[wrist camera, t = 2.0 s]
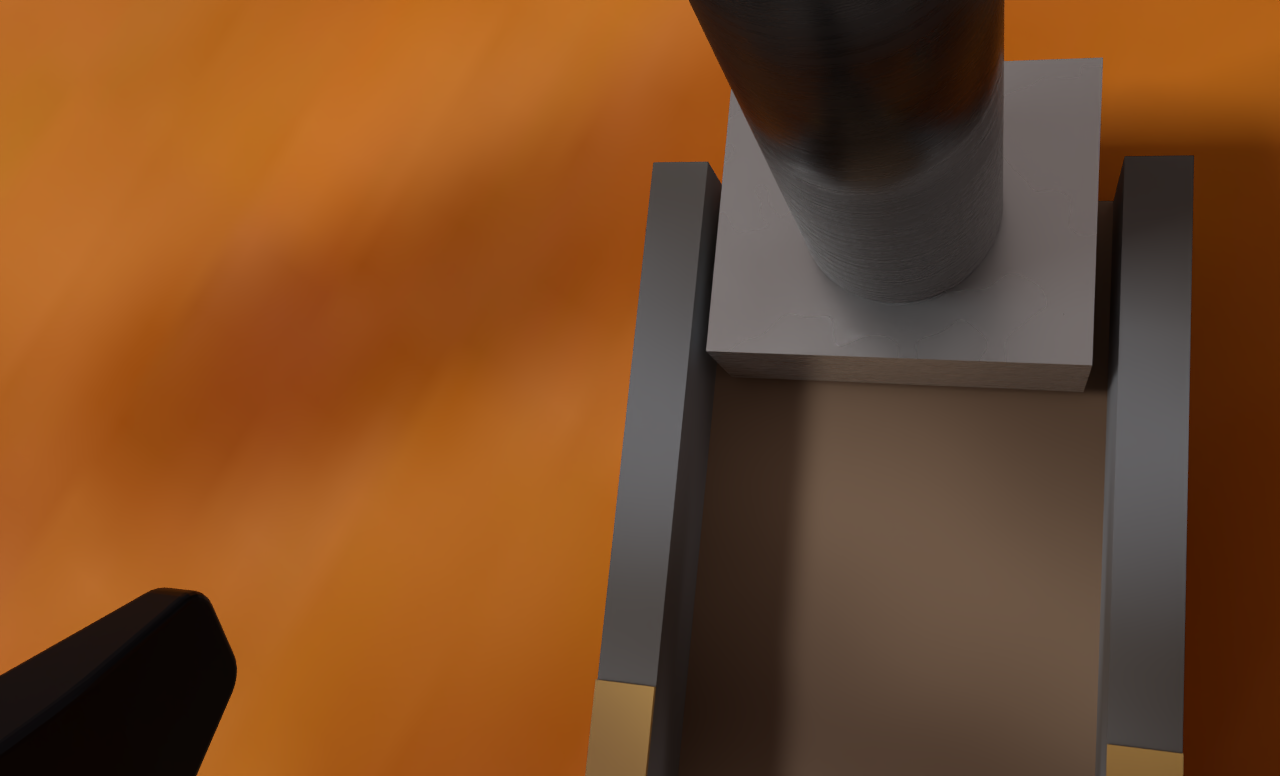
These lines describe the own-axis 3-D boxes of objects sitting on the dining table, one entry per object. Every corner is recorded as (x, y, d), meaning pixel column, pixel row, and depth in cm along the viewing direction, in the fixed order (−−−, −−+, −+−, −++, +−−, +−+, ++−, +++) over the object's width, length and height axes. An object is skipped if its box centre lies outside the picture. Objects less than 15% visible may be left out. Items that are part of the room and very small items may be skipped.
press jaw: (1083, 392, 20) (1220, -31, 7) (731, 376, 21) (373, 17, 9) (1093, 111, 21) (1230, -678, 8) (755, 119, 22) (459, -520, 10)
